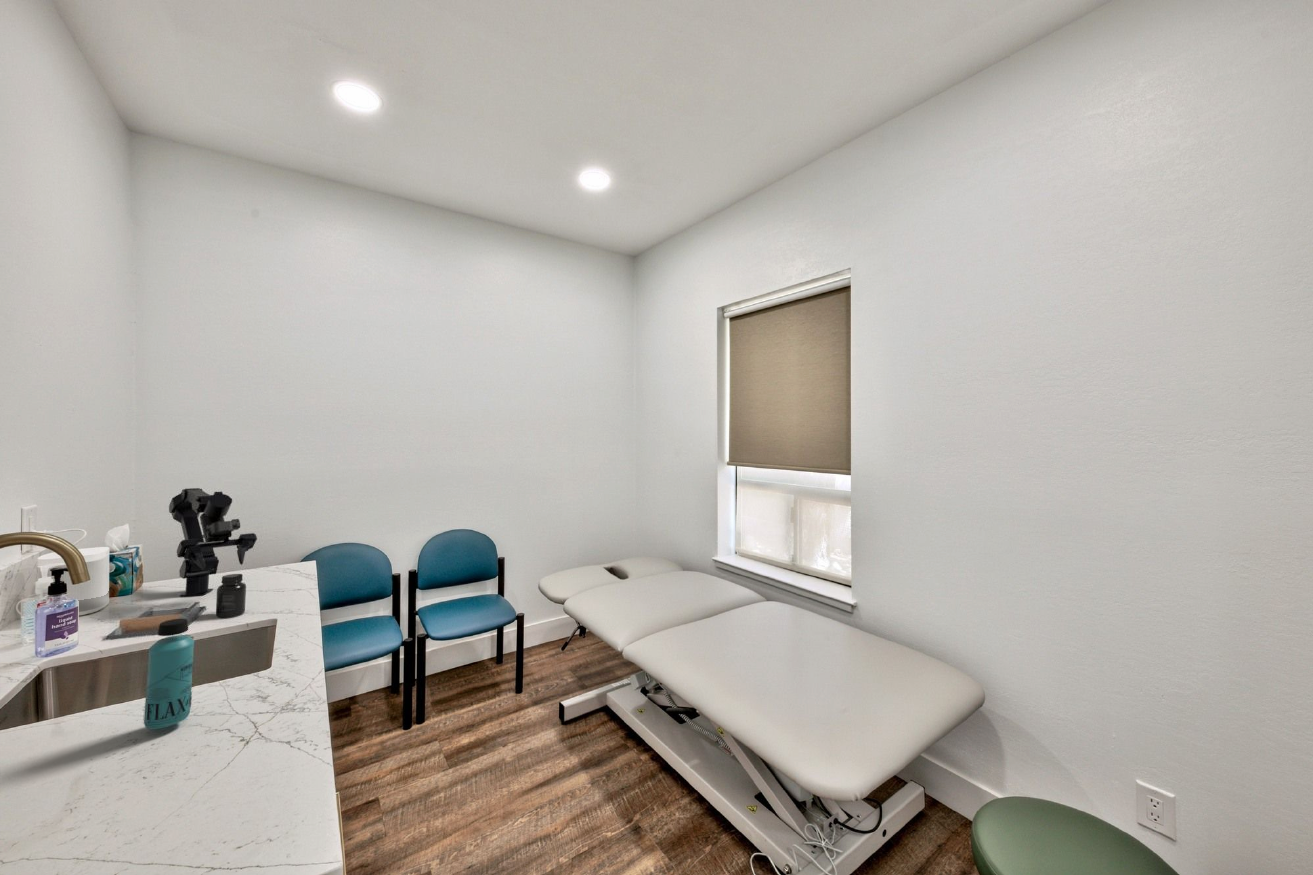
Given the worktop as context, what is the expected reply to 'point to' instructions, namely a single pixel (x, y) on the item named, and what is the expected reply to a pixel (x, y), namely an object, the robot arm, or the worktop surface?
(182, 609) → the rail plate
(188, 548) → the robot arm
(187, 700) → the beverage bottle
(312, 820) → the worktop surface
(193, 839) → the worktop surface
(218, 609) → the supplement bottle
